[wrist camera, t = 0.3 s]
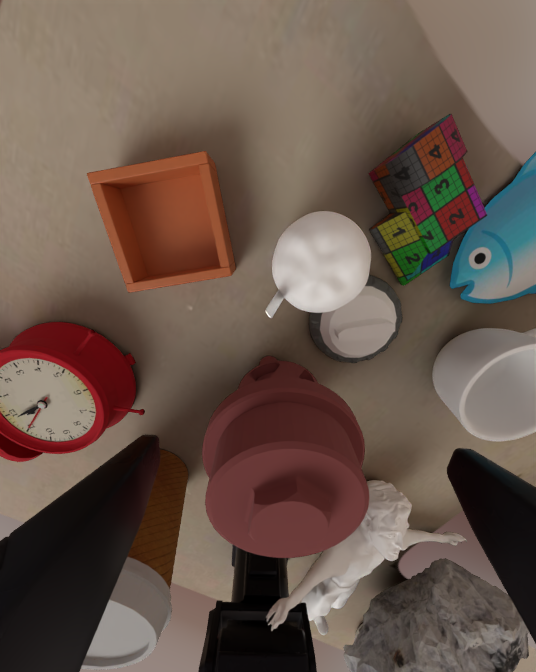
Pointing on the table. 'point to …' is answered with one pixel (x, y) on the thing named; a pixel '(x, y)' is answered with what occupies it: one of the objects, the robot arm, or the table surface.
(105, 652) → the disposable coffee cup
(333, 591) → the figurine
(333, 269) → the milkshake
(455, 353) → the teacup
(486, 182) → the table surface
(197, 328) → the table surface
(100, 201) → the socket pad
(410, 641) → the rock
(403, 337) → the table surface
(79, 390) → the alarm clock
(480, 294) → the toy
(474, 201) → the numbered block arch
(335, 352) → the stove knob
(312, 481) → the mechanical component
